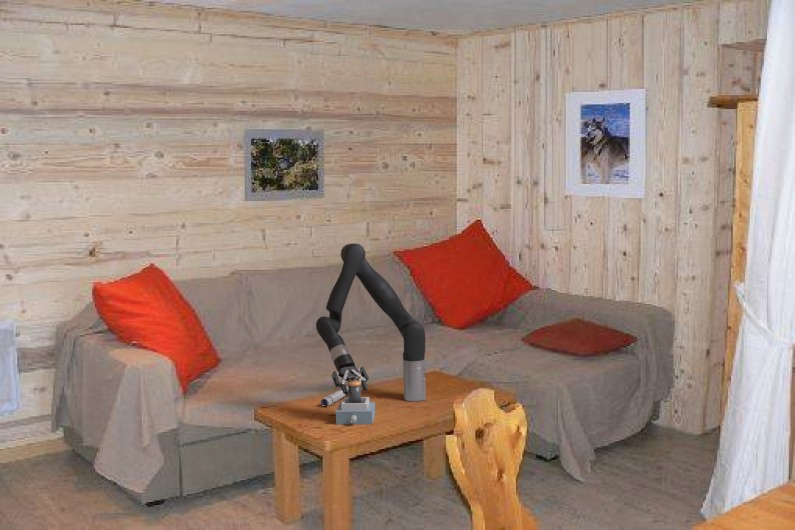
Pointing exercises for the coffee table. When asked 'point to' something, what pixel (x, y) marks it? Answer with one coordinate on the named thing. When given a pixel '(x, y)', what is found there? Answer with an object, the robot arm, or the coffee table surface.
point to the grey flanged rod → (332, 398)
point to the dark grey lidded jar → (354, 391)
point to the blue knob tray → (355, 412)
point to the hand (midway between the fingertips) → (356, 392)
